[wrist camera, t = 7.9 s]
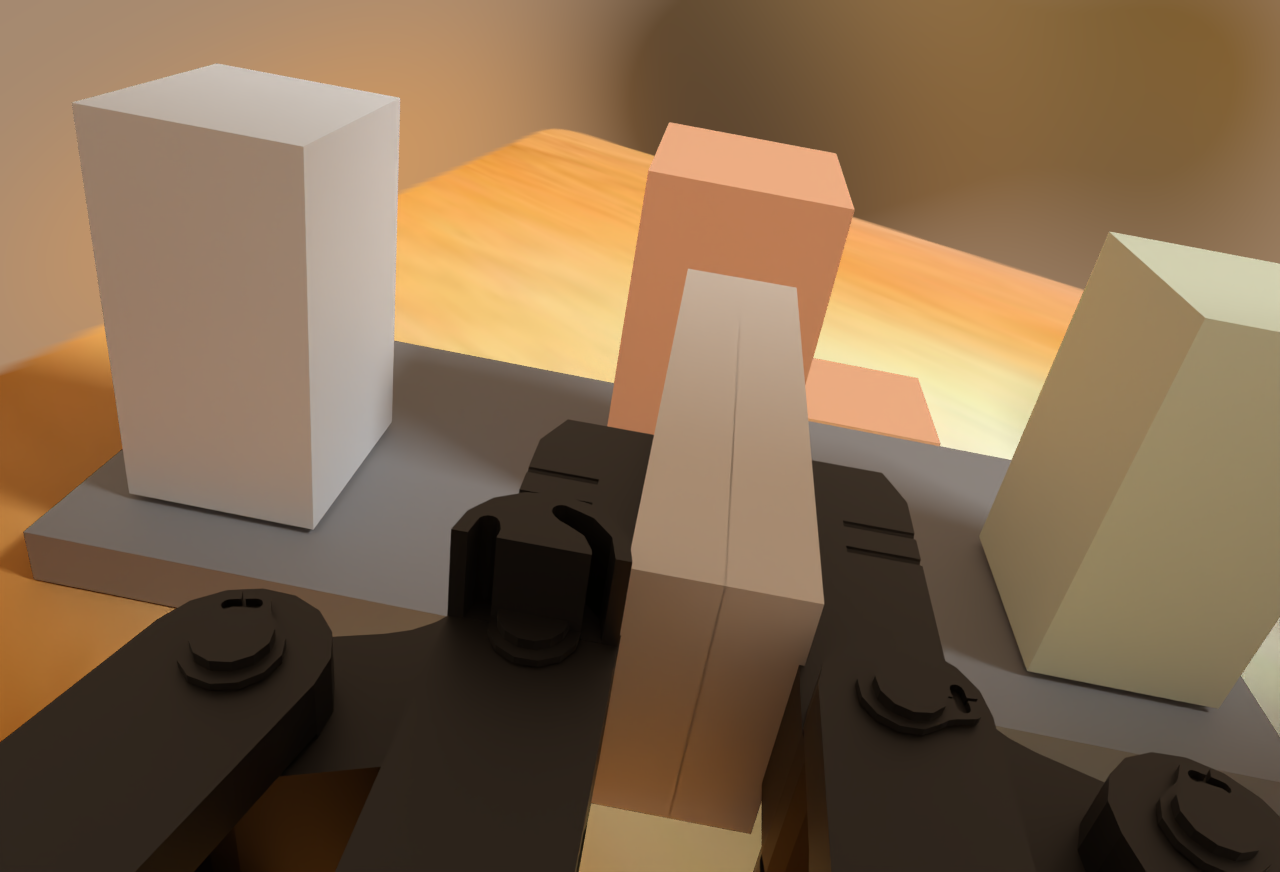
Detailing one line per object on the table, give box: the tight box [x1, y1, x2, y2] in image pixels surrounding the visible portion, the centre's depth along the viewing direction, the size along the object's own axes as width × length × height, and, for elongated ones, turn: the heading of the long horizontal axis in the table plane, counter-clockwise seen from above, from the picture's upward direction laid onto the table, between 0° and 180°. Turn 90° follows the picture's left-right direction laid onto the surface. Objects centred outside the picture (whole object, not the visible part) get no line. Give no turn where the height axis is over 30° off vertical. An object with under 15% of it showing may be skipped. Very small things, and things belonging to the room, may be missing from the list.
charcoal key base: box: [23, 341, 1280, 816], centre depth 29 cm, size 32×14×2 cm, turn 84°
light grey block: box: [72, 64, 400, 530], centre depth 24 cm, size 5×6×10 cm
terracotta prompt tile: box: [805, 358, 940, 446], centre depth 39 cm, size 6×6×1 cm
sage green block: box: [979, 232, 1280, 709], centre depth 24 cm, size 5×6×10 cm
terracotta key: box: [607, 123, 854, 435], centre depth 27 cm, size 5×6×10 cm
